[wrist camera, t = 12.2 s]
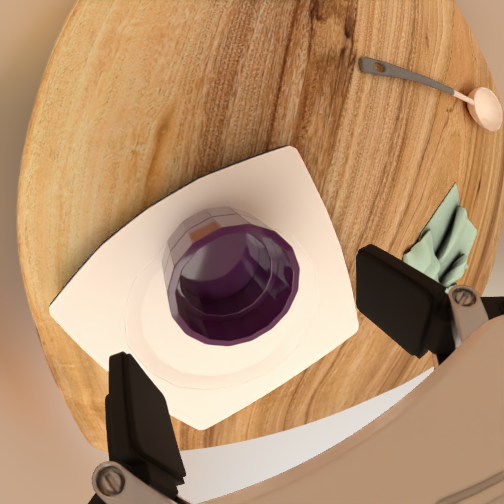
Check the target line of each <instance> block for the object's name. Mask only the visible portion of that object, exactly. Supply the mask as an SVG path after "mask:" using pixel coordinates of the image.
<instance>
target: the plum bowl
mask: <svg viewBox="0 0 504 504" xmlns="http://www.w3.org/2000/svg"><path fill="white" fill-rule="evenodd" d="M162 269H163V275H164V281H165V286H166V292H167V297H168V302H169V307H170V312H171V316H172V318H173V319H174V320H175V322H176V323H177V324H178V326H179V327H180V328H181V329H182V331H183V332H184V333H185V334H186V335H188V336H190V337H192V338H194V339H196V340H198V341H200V342H202V343H204V344H206V345H216V346H233V345H237V344H241V343H246V342H250V341H252V340H254V339H256V338H258V337H259V336H261V335H263V334H264V333H266V332H268V331H270V330H271V329H272V328H274V327H275V325H276V324H277V323H278V322H279V321H280V320H281V319H282V318H283V317H284V316H285V315H286V314H287V312H288V311H289V309H290V307H291V305H292V303H293V301H294V299H295V296H296V294H297V292H298V287H299V274H300V267H299V264H298V261H297V258H296V256H295V253H294V250H293V248H292V246H291V245H290V244H289V243H288V242H287V241H286V240H284V239H283V238H282V237H281V236H280V235H279V234H278V233H277V232H276V231H275V230H273V229H272V228H270V227H269V226H267V225H266V224H265V223H263V222H262V221H260V220H259V219H257V218H256V217H254V216H253V215H252V214H250V213H248V212H245V211H242V210H239V209H235V208H232V207H218V208H209V209H205V210H202V211H200V212H198V213H196V214H194V215H193V216H191V217H189V218H187V219H185V220H184V221H183V222H182V223H181V224H180V225H179V226H178V228H177V229H176V230H175V231H174V233H173V234H172V235H171V236H170V238H169V239H168V240H167V244H166V247H165V251H164V254H163V258H162Z"/></svg>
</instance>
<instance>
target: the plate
mask: <svg viewBox="0 0 504 504" xmlns="http://www.w3.org/2000/svg"><path fill="white" fill-rule="evenodd" d="M218 207H232V208H235V209H239V210H242V211H245V212H248V213H250V214H252V215H253V216H254V217H256V218H257V219H259V220H260V221H262V222H263V223H265V224H266V225H267V226H269V227H270V228H272V229H273V230H275V231H276V232H277V233H278V234H279V235H280V236H281V237H282V238H283V239H284V240H286V241H287V242H288V243H289V244H290V245H291V246H292V248H293V250H294V253H295V256H296V258H297V261H298V264H299V267H300V274H299V287H298V292H297V294H296V296H295V299H294V301H293V303H292V305H291V307H290V309H289V311H288V312H287V314H286V315H285V316H284V317H283V318H282V319H281V320H280V321H279V322H278V323H277V324H276V325H275V327H274V328H272V329H271V330H270V331H268V332H266V333H264V334H263V335H261V336H259V337H258V338H256V339H254V340H252V341H250V342H246V343H241V344H237V345H233V346H216V345H206V344H204V343H202V342H200V341H198V340H196V339H194V338H192V337H190V336H188V335H186V334H185V333H184V332H183V331H182V329H181V328H180V327H179V326H178V324H177V323H176V322H175V320H174V319H173V318H172V316H171V312H170V307H169V302H168V297H167V292H166V286H165V281H164V275H163V269H162V258H163V254H164V251H165V247H166V244H167V240H168V239H169V238H170V236H171V235H172V234H173V233H174V231H175V230H176V229H177V228H178V226H179V225H180V224H181V223H182V222H183V221H184V220H185V219H187V218H189V217H191V216H193V215H194V214H196V213H198V212H200V211H202V210H205V209H209V208H218ZM49 311H50V315H51V316H52V317H53V319H54V320H55V321H56V322H57V323H58V324H59V325H60V326H61V327H62V328H63V329H64V331H65V332H66V333H67V334H68V335H69V336H70V337H71V338H72V339H73V340H74V341H75V342H76V343H77V344H78V345H79V346H80V347H81V348H82V349H83V350H84V351H85V352H86V353H87V354H88V355H89V356H91V357H92V358H93V359H94V360H95V361H96V362H97V363H98V364H99V365H100V366H102V367H103V368H104V369H105V370H106V371H108V372H109V357H110V356H111V355H114V354H117V353H120V352H122V351H124V352H125V353H126V354H129V353H130V354H131V355H132V356H133V357H134V359H135V360H136V361H137V363H138V364H139V365H140V366H141V368H142V369H143V370H144V372H145V373H146V374H147V375H148V377H149V378H150V379H151V380H152V382H153V383H154V384H155V385H156V386H157V388H158V389H159V390H160V391H161V392H162V394H163V395H164V397H165V399H166V402H167V406H168V411H169V414H170V415H172V416H173V417H175V418H177V419H179V420H181V421H182V422H184V423H186V424H188V425H190V426H192V427H194V428H196V429H198V430H205V429H207V428H209V427H211V426H212V425H214V424H216V423H218V422H220V421H222V420H223V419H225V418H227V417H229V416H230V415H232V414H234V413H236V412H237V411H239V410H241V409H242V408H244V407H246V406H247V405H249V404H251V403H252V402H254V401H256V400H258V399H259V398H261V397H263V396H264V395H266V394H267V393H269V392H271V391H272V390H274V389H275V388H277V387H279V386H280V385H282V384H283V383H285V382H286V381H288V380H289V379H291V378H292V377H294V376H295V375H297V374H298V373H300V372H301V371H303V370H304V369H306V368H307V367H309V366H310V365H312V364H313V363H314V362H316V361H317V360H319V359H320V358H322V357H323V356H325V355H326V354H327V353H329V352H330V351H332V350H333V349H334V348H336V347H337V346H339V345H340V344H341V343H343V342H344V341H345V340H347V339H348V338H349V337H351V336H352V335H353V334H355V333H356V332H357V330H358V328H359V325H358V319H357V314H356V308H355V303H354V298H353V293H352V288H351V283H350V279H349V275H348V271H347V267H346V264H345V260H344V256H343V253H342V249H341V246H340V244H339V241H338V238H337V235H336V233H335V230H334V227H333V225H332V222H331V220H330V217H329V214H328V212H327V210H326V208H325V205H324V203H323V201H322V199H321V197H320V195H319V193H318V191H317V188H316V186H315V184H314V182H313V180H312V178H311V176H310V174H309V172H308V170H307V168H306V166H305V164H304V162H303V160H302V158H301V156H300V154H299V152H298V151H297V149H296V148H294V147H291V146H289V145H285V146H281V147H278V148H275V149H273V150H270V151H267V152H264V153H261V154H258V155H255V156H253V157H250V158H247V159H244V160H242V161H239V162H236V163H234V164H231V165H228V166H226V167H223V168H221V169H218V170H216V171H213V172H211V173H208V174H206V175H203V176H201V177H198V178H197V179H195V180H193V181H191V182H189V183H188V184H186V185H184V186H182V187H181V188H179V189H177V190H176V191H174V192H172V193H171V194H169V195H167V196H166V197H164V198H162V199H161V200H159V201H157V202H156V203H154V204H152V205H151V206H149V207H148V208H146V209H145V210H144V211H142V212H141V213H140V214H138V215H137V216H136V217H134V218H133V219H132V220H130V221H129V222H128V223H127V224H125V225H124V226H123V227H122V228H120V229H119V230H118V231H117V232H115V233H114V234H113V235H112V236H110V237H109V238H108V239H107V240H105V241H104V242H103V243H102V244H101V245H100V246H99V247H98V248H97V249H96V251H95V252H94V253H93V254H92V255H91V256H90V257H89V258H88V259H87V260H86V262H85V263H84V264H83V265H82V266H81V267H80V268H79V270H78V271H77V272H76V273H75V274H74V275H73V277H72V278H71V279H70V280H69V281H68V282H67V284H66V285H65V286H64V287H63V289H62V290H61V291H60V292H59V293H58V295H57V296H56V297H55V298H54V300H53V301H52V302H51V304H50V306H49Z"/></svg>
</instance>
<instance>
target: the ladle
mask: <svg viewBox="0 0 504 504" xmlns="http://www.w3.org/2000/svg"><path fill="white" fill-rule="evenodd" d="M375 63H378V64H380V65H382V66H383V69H384V70H383V72H378V71H377V70H376V69H375V68H374V64H375ZM359 66H360V69H361V71H362V72H366V73H371V74H376V75H381V76H389V77H396V78H402V79H408V80H412V81H415V82H418V83H421V84H425V85H428V86H430V87H433V88H436V89H438V90H441V91H443V92H446V93H448V94H450V95H453V96H455V97H458V98H460V99H462V100H464V101H466V102H467V106H468V110H469V112H470V115H471V116H472V118H473V119H474V120H475V121H476V122H477V123H478V124H479V125H480V126H481V127H483V128H485V129H487V130H490V131H496V130H498V129H499V128H500V126H501V124H502V117H503V116H502V109H501V105H500V103H499V101H498V99H497V97H496V96H495V94H494V93H493V92H492V91H491V90H489V89H488V88H485V87H481V88H475V89H474V90H472V91H471V92H470V93H469V95H468V97H467V96H465V95H463V94H461V93H459V92H457V91H455V90H454V89H452V88H450V87H448V86H446V85H444V84H442V83H440V82H437V81H435V80H433V79H430V78H428V77H425V76H423V75H420V74H417V73H414V72H412V71H409V70H406V69H403V68H401V67H398V66H395V65H392V64H389V63H386V62H383V61H379V60H375V59H371V58H366V57H361V58H360V60H359Z"/></svg>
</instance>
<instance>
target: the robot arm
mask: <svg viewBox="0 0 504 504" xmlns="http://www.w3.org/2000/svg"><path fill="white" fill-rule="evenodd" d="M445 291H446V287H445V286H443V285H442V284H440V283H438V282H437V281H435V280H434V279H432V278H430V277H429V276H427V275H425V274H424V273H422V272H420V271H419V270H417V269H415V268H413V267H412V266H410V265H408V264H407V263H405V262H403V261H401V260H400V259H398V258H396V257H394V256H393V255H391V254H389V253H387V252H386V251H384V250H382V249H380V248H378V247H377V246H375V245H373V244H369V245H367V246H365V247H363V248H361V249H359V251H358V254H357V255H356V305H357V308H358V310H359V311H360V312H361V313H362V314H364V315H365V316H366V317H367V318H368V319H370V320H371V321H372V322H373V323H374V324H375V325H377V326H378V327H379V328H380V329H381V330H383V331H384V332H385V333H386V334H387V335H388V336H390V337H391V338H392V339H393V340H394V341H395V342H397V343H398V344H399V345H400V346H401V347H402V348H403V349H405V350H406V351H407V352H408V353H409V354H411V355H415V356H417V357H418V358H419V359H420V358H421V357H422V356H424V355H425V354H426V353H427V352H428V350H430V351H431V352H432V357H433V364H434V371H433V372H432V373H431V374H430V375H429V376H428V377H427V378H426V379H425V380H423V382H421V383H420V384H419V385H418V386H417V387H415V388H414V389H413V390H412V391H411V392H410V393H408V394H407V395H406V396H405V397H403V398H402V399H401V400H400V401H399V402H397V403H396V404H395V405H394V406H392V407H391V408H390V409H388V410H387V411H386V412H384V413H383V414H382V415H380V416H379V417H377V418H376V419H375V420H373V421H372V422H371V423H369V424H368V425H366V426H365V427H363V428H362V429H360V430H359V431H357V432H356V433H354V434H353V435H351V436H349V437H348V438H346V439H345V440H343V441H342V442H340V443H338V444H336V445H335V446H333V447H331V448H330V449H328V450H326V451H324V452H323V453H321V454H319V455H317V456H315V457H314V458H311V459H310V460H308V461H306V462H304V463H302V464H300V465H298V466H296V467H294V468H292V469H290V470H287V471H285V472H283V473H281V474H279V475H277V476H274V477H272V478H270V479H267V480H265V481H262V482H260V483H257V484H255V485H252V486H249V487H247V488H244V489H241V490H239V491H236V492H233V493H230V494H227V495H224V496H221V497H218V498H215V499H212V500H209V501H205V502H202V503H199V504H504V297H480V296H479V294H478V293H477V291H475V290H474V289H473V288H471V287H469V286H466V285H456V286H454V287H452V288H451V289H450V290H449V293H448V294H447V293H446V292H445ZM105 411H106V430H107V442H108V452H109V461H107V462H104V463H102V464H100V465H99V466H97V468H96V469H95V471H94V472H93V476H92V485H93V488H94V490H95V492H96V493H95V495H94V496H93V498H92V499H91V500H90V502H89V503H88V504H192V503H191V502H189V501H188V500H186V499H184V498H183V497H181V496H179V495H178V490H177V487H176V486H178V485H182V484H184V480H183V477H185V476H186V472H185V469H184V466H183V462H182V459H181V456H180V453H179V449H178V445H177V442H176V438H175V434H174V431H173V427H172V423H171V419H170V415H169V411H168V406H167V402H166V399H165V397H164V395H163V394H162V392H161V391H160V390H159V389H158V388H157V386H156V385H155V384H154V383H153V382H152V380H151V379H150V378H149V377H148V375H147V374H146V373H145V372H144V370H143V369H142V368H141V366H140V365H139V364H138V363H137V361H136V360H135V359H134V357H133V356H132V355H131V354H130V353H129V354H126V353H125V352H124V351H122V352H120V353H117V354H114V355H111V356H110V357H109V394H108V395H107V396H106V398H105Z"/></svg>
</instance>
